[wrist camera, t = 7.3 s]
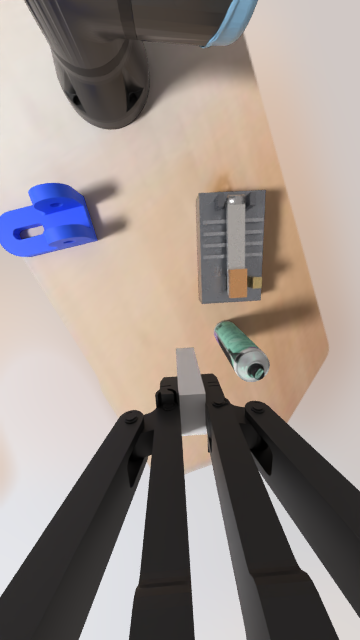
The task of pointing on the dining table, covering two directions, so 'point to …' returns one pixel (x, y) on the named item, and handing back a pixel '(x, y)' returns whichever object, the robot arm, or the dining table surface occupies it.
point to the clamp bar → (236, 246)
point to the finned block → (215, 245)
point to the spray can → (241, 352)
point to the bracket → (48, 222)
